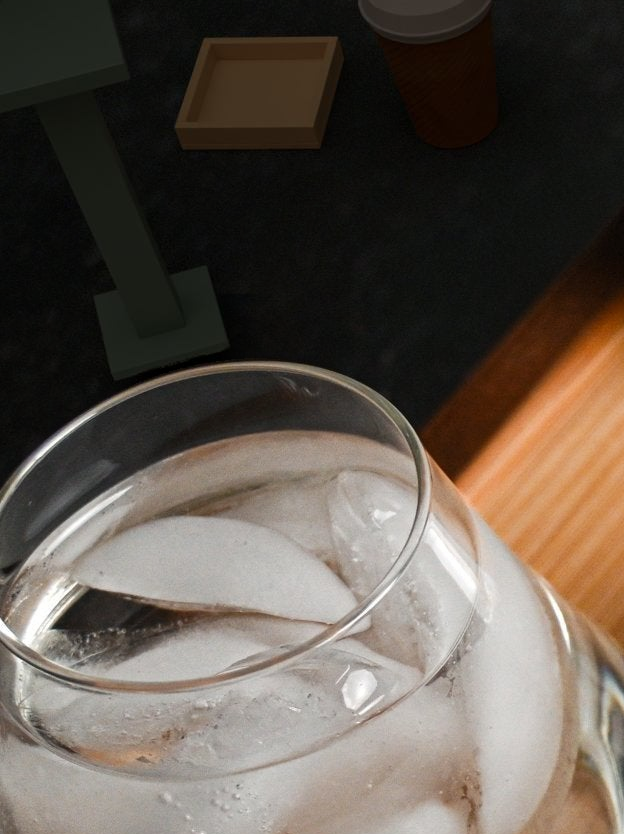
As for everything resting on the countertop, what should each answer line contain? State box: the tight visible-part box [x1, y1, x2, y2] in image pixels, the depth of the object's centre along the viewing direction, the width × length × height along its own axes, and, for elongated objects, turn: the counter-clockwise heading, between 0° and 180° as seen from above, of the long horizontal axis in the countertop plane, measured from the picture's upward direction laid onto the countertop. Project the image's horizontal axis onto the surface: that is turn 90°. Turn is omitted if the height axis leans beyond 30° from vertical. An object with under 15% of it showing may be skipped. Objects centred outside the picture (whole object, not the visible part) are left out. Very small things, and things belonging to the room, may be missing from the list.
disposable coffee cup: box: [357, 0, 500, 149], centre depth 138 cm, size 10×10×12 cm
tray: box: [174, 36, 345, 151], centre depth 144 cm, size 10×10×2 cm
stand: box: [0, 0, 231, 382], centre depth 123 cm, size 9×9×23 cm
